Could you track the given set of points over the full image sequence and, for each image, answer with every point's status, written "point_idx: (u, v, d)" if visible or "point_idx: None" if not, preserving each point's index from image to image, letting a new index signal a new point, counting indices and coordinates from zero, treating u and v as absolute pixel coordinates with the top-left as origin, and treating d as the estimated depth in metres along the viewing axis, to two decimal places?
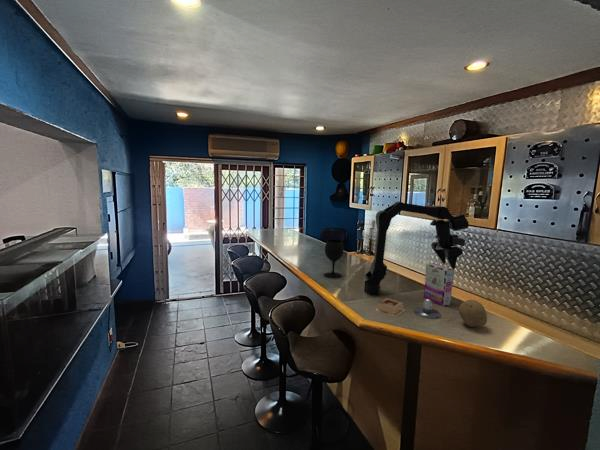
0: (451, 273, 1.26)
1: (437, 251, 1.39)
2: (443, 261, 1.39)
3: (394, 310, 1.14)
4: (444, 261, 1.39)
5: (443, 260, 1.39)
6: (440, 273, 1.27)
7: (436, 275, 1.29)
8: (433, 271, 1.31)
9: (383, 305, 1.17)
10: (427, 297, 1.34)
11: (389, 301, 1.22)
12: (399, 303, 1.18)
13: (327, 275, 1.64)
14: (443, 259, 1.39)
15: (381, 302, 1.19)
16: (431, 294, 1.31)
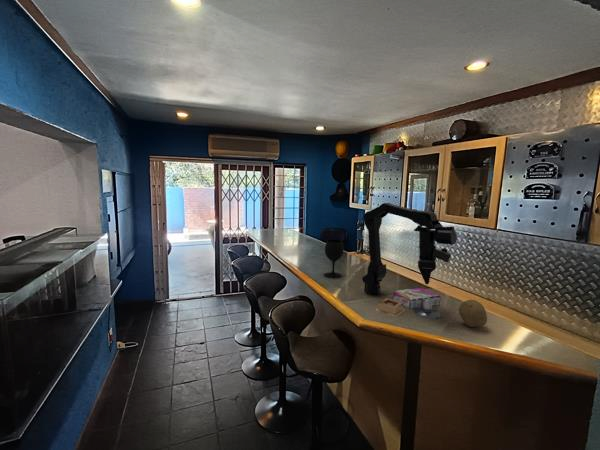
0: (413, 302, 1.21)
1: None
2: None
3: (394, 310, 1.14)
4: None
5: None
6: None
7: None
8: None
9: (383, 305, 1.17)
10: None
11: (389, 301, 1.22)
12: (399, 303, 1.18)
13: (327, 275, 1.64)
14: None
15: (381, 302, 1.19)
16: None
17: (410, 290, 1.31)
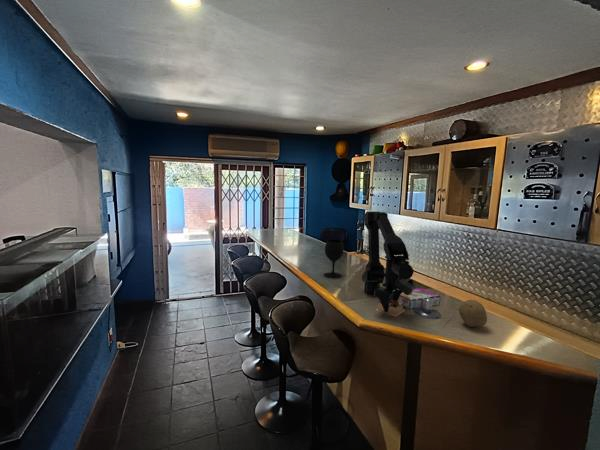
0: (413, 302, 1.21)
1: None
2: None
3: (394, 310, 1.14)
4: None
5: None
6: None
7: None
8: None
9: None
10: None
11: None
12: (399, 303, 1.18)
13: (327, 275, 1.64)
14: None
15: None
16: None
17: None
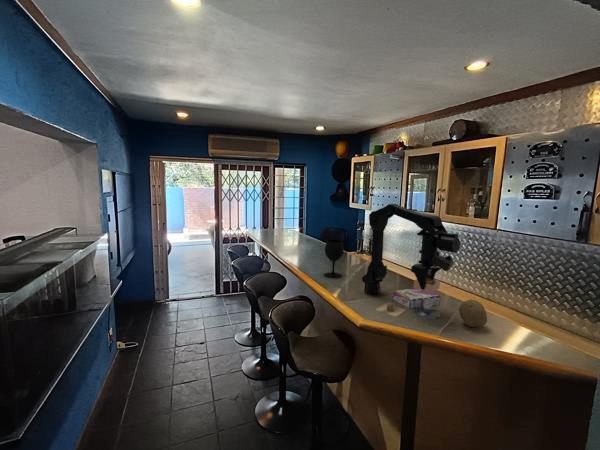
0: (413, 302, 1.21)
1: None
2: None
3: (432, 286, 1.10)
4: None
5: None
6: None
7: None
8: None
9: None
10: None
11: None
12: (436, 281, 1.14)
13: (327, 275, 1.64)
14: None
15: (417, 280, 1.15)
16: None
17: (410, 290, 1.31)
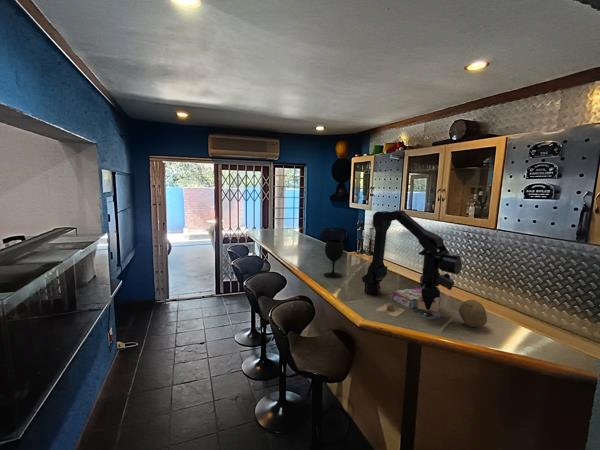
0: (413, 302, 1.21)
1: None
2: None
3: (438, 306, 1.11)
4: None
5: None
6: None
7: None
8: None
9: (424, 303, 1.13)
10: None
11: None
12: (435, 299, 1.17)
13: (327, 275, 1.64)
14: None
15: (420, 300, 1.15)
16: None
17: (410, 290, 1.31)
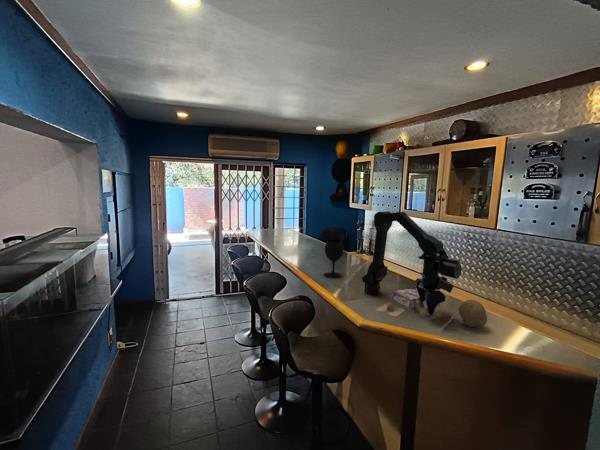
0: (413, 302, 1.21)
1: (419, 290, 1.21)
2: None
3: (439, 311, 1.12)
4: None
5: None
6: None
7: None
8: None
9: (427, 309, 1.13)
10: None
11: (421, 303, 1.19)
12: None
13: (327, 275, 1.64)
14: (423, 300, 1.21)
15: (422, 306, 1.14)
16: None
17: (410, 290, 1.31)
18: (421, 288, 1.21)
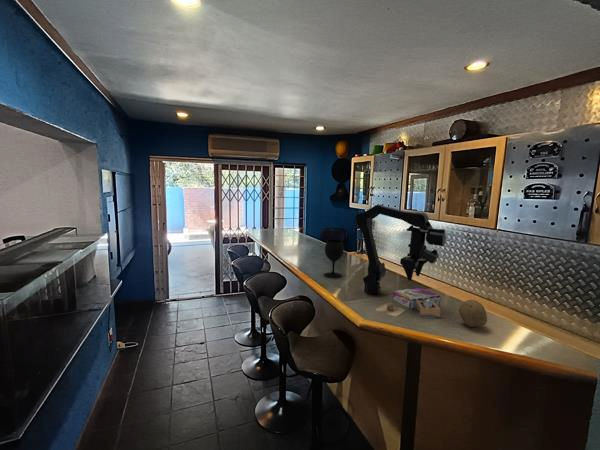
0: (413, 302, 1.21)
1: None
2: (417, 273, 1.29)
3: (439, 311, 1.12)
4: (418, 273, 1.29)
5: (417, 272, 1.29)
6: None
7: None
8: None
9: (427, 309, 1.13)
10: None
11: (421, 303, 1.19)
12: (433, 303, 1.18)
13: (327, 275, 1.64)
14: (417, 271, 1.29)
15: (422, 306, 1.14)
16: None
17: (410, 290, 1.31)
18: None
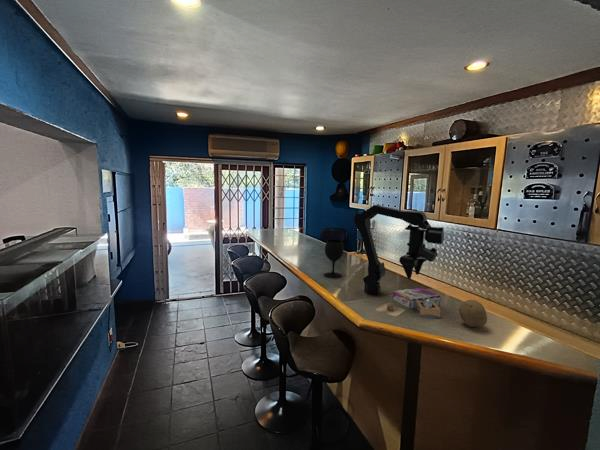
0: (413, 302, 1.21)
1: None
2: (416, 272, 1.30)
3: (439, 311, 1.12)
4: (417, 272, 1.29)
5: (417, 271, 1.29)
6: None
7: None
8: None
9: (427, 309, 1.13)
10: None
11: (421, 303, 1.19)
12: (433, 303, 1.18)
13: (327, 275, 1.64)
14: (417, 270, 1.29)
15: (422, 306, 1.14)
16: None
17: (410, 290, 1.31)
18: None
